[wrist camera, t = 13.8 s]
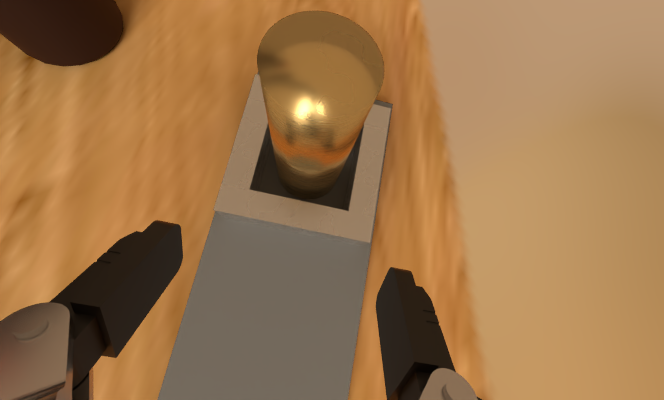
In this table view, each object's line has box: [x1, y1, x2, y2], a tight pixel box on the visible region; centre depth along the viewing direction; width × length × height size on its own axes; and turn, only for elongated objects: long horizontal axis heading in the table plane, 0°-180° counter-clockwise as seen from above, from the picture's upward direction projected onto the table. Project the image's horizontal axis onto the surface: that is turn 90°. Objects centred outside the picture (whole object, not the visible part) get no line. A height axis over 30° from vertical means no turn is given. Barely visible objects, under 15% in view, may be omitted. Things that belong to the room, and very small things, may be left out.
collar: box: [214, 74, 391, 246], centre depth 17 cm, size 9×9×2 cm
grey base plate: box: [158, 72, 393, 400], centre depth 17 cm, size 24×10×1 cm, turn 169°
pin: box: [257, 11, 384, 200], centre depth 13 cm, size 4×4×10 cm
